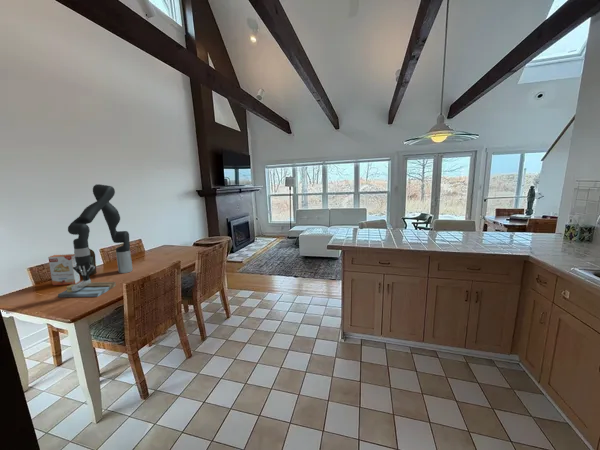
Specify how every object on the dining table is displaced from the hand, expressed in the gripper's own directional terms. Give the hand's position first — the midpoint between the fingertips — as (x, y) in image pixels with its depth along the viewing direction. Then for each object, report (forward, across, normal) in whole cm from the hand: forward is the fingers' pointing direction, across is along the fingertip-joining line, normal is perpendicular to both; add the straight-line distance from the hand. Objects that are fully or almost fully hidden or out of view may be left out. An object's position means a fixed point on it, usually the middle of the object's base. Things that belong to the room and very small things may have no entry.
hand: (86, 280), depth 163 cm
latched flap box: (+9, +2, -3) cm, 10 cm away
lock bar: (+6, +6, -3) cm, 9 cm away
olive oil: (+10, +27, -36) cm, 47 cm away
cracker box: (+10, +28, -17) cm, 34 cm away
